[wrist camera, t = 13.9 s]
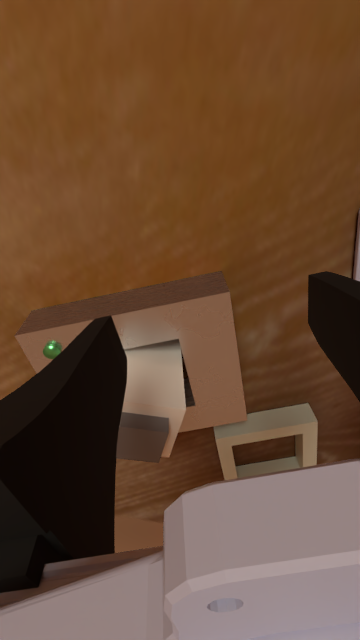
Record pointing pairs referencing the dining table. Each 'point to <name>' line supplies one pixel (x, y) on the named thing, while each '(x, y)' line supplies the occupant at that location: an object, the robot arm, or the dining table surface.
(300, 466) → the beige square frame
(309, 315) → the robot arm
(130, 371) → the plug
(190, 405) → the port block
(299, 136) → the dining table surface
